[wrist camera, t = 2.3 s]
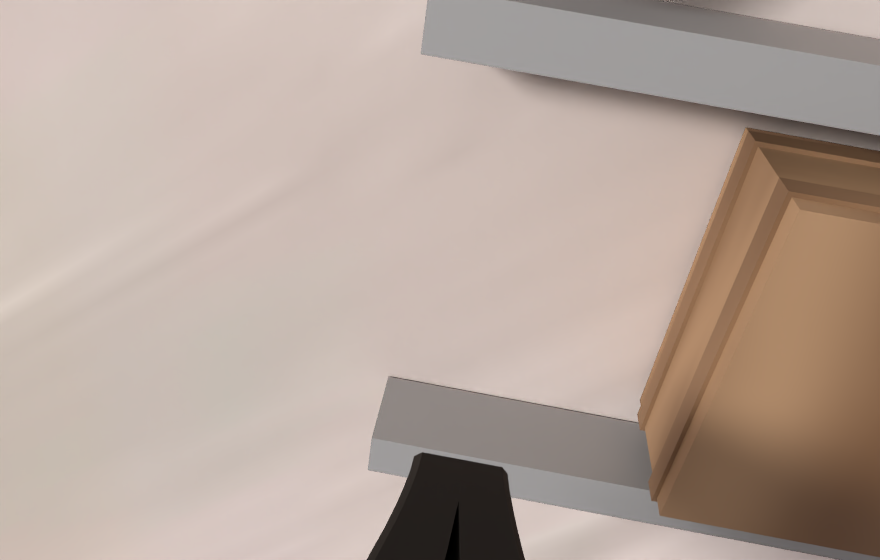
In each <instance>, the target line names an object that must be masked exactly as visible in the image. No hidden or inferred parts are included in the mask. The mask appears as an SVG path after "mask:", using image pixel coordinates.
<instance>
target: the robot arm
mask: <svg viewBox="0 0 880 560" xmlns="http://www.w3.org/2000/svg"><path fill="white" fill-rule="evenodd" d="M367 560H525V558H524V554H523V551H522V547H521V542H520V538H519V534H518V530H517V526H516V521H515V517H514V512H513V507H512V501H511V495H510V489H509V481H508V474H507V472H506V471H505V470H504V469H503V467H499V466H494V465H489V464H483V463H478V462H473V461H467V460H462V459H457V458H451V457H446V456H440V455H435V454H430V453H424V452H422V453H420V454H417V455H415V456H414V458H413V462H412V466H411V469H410V472H409V475H408V478H407V480H406V483H405V486H404V488H403V490H402V493H401V495H400V497H399V500H398V502H397V504H396V506H395V508H394V510H393V512H392V514H391V516H390V518H389V520H388V522H387V524H386V526H385V528H384V530H383V532H382V533H381V535H380V537H379V539H378V541H377V542H376V544H375V546H374V548H373V549H372V551H371V553H370V555H369V557H368V558H367Z"/></svg>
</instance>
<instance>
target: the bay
mask: <svg viewBox="0 0 880 560" xmlns="http://www.w3.org/2000/svg"><path fill="white" fill-rule="evenodd" d="M421 54H423V55H428V56H434V57H440V58H445V59H451V60H457V61H462V62H468V63H473V64H479V65H485V66H490V67H496V68H502V69H507V70H513V71H519V72H524V73H530V74H536V75H541V76H547V77H552V78H558V79H564V80H569V81H575V82H581V83H586V84H592V85H598V86H603V87H609V88H614V89H620V90H626V91H631V92H637V93H643V94H648V95H654V96H660V97H665V98H671V99H677V100H682V101H688V102H693V103H699V104H705V105H710V106H716V107H722V108H727V109H733V110H739V111H744V112H750V113H756V114H761V115H767V116H772V117H778V118H784V119H789V120H795V121H801V122H806V123H812V124H818V125H823V126H829V127H834V128H840V129H846V130H851V131H857V132H863V133H868V134H874V135H880V39H876V38H870V37H864V36H859V35H853V34H847V33H842V32H836V31H830V30H824V29H819V28H813V27H807V26H801V25H796V24H790V23H784V22H779V21H773V20H767V19H761V18H756V17H750V16H744V15H738V14H733V13H727V12H721V11H715V10H710V9H704V8H698V7H693V6H687V5H681V4H675V3H670V2H664V1H658V0H428V1H427V9H426V17H425V25H424V33H423V41H422V48H421ZM422 452H424V453H430V454H435V455H440V456H446V457H451V458H457V459H462V460H467V461H473V462H478V463H483V464H489V465H494V466H499V467H503V469H504V470H505V471H506V472H507V474H508V481H509V489H510V495H511V497H512V498H518V499H523V500H528V501H533V502H539V503H544V504H549V505H554V506H560V507H565V508H570V509H575V510H581V511H586V512H591V513H597V514H602V515H607V516H612V517H618V518H623V519H628V520H633V521H639V522H644V523H649V524H654V525H660V526H665V527H670V528H676V529H681V530H686V531H691V532H697V533H702V534H707V535H712V536H718V537H723V538H728V539H734V540H739V541H744V542H749V543H755V544H760V545H765V546H770V547H776V548H781V549H786V550H791V551H797V552H802V553H807V554H813V555H818V556H823V557H828V558H834V559H839V560H880V557H875V556H870V555H864V554H859V553H854V552H849V551H843V550H838V549H833V548H827V547H822V546H817V545H812V544H806V543H801V542H796V541H791V540H785V539H780V538H775V537H769V536H764V535H759V534H754V533H748V532H743V531H738V530H732V529H727V528H722V527H717V526H711V525H706V524H701V523H696V522H690V521H685V520H680V519H674V518H669V517H664V516H660V515H659V509H658V503H657V502H655V501H651V496H650V490H649V483H648V481H649V479H650V476H651V474H652V468H651V462H650V456H649V450H648V444H647V438H646V433H645V431H642V430H640V428H639V423H634V422H629V421H624V420H618V419H613V418H608V417H602V416H597V415H592V414H586V413H581V412H576V411H570V410H565V409H559V408H554V407H549V406H543V405H538V404H533V403H527V402H522V401H517V400H511V399H506V398H501V397H495V396H490V395H485V394H479V393H474V392H469V391H463V390H458V389H452V388H447V387H442V386H436V385H431V384H426V383H420V382H415V381H410V380H404V379H399V378H394V377H388V381H387V384H386V388H385V392H384V395H383V399H382V403H381V406H380V410H379V414H378V417H377V421H376V425H375V428H374V432H373V436H372V441H371V449H370V457H369V465H368V470H370V471H375V472H381V473H386V474H391V475H396V476H402V477H407V478H408V475H409V472H410V469H411V466H412V462H413V458H414V456H415V455H417V454H420V453H422Z"/></svg>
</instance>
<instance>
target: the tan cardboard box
mask: <svg viewBox="0 0 880 560" xmlns="http://www.w3.org/2000/svg"><path fill="white" fill-rule="evenodd" d="M640 403H641V407H640V409H639V412H638V414H637V415H638V421H639V428H640V430H642V431H645V433H646V438H647V444H648V450H649V456H650V462H651V468H652V474H651V476H650V479H649V481H648V483H649V490H650V496H651V501H655V502H657V503H658V509H659V515H660V516H664V517H669V518H674V519H680V520H685V521H690V522H696V523H701V524H706V525H711V526H717V527H722V528H727V529H732V530H738V531H743V532H748V533H754V534H759V535H764V536H769V537H775V538H780V539H785V540H791V541H796V542H801V543H806V544H812V545H817V546H822V547H827V548H833V549H838V550H843V551H849V552H854V553H859V554H864V555H870V556H875V557H880V151H875V150H870V149H864V148H859V147H853V146H847V145H842V144H836V143H830V142H825V141H819V140H814V139H808V138H802V137H797V136H791V135H785V134H780V133H774V132H769V131H763V130H757V129H752V128H745V131H744V133H743V136H742V138H741V141H740V143H739V146H738V149H737V151H736V154H735V156H734V159H733V162H732V164H731V167H730V169H729V172H728V174H727V177H726V180H725V182H724V185H723V187H722V190H721V193H720V195H719V198H718V200H717V203H716V205H715V208H714V211H713V213H712V216H711V218H710V221H709V223H708V226H707V229H706V231H705V234H704V236H703V239H702V242H701V244H700V247H699V249H698V252H697V254H696V257H695V260H694V262H693V265H692V267H691V270H690V272H689V275H688V278H687V280H686V283H685V285H684V288H683V291H682V293H681V296H680V298H679V301H678V303H677V306H676V309H675V311H674V314H673V316H672V319H671V322H670V324H669V327H668V329H667V332H666V334H665V337H664V340H663V342H662V345H661V347H660V350H659V352H658V355H657V358H656V360H655V363H654V365H653V368H652V371H651V373H650V376H649V378H648V381H647V383H646V386H645V389H644V391H643V394H642V396H641V399H640Z"/></svg>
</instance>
